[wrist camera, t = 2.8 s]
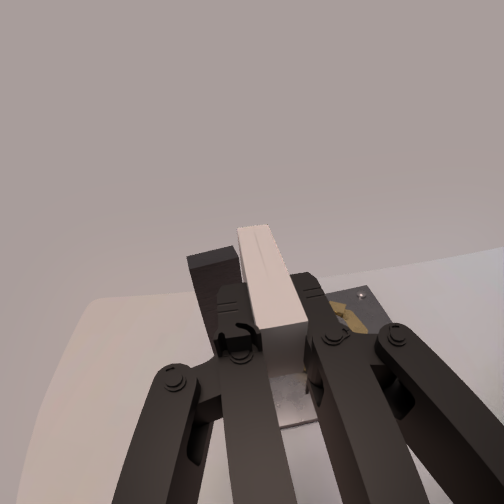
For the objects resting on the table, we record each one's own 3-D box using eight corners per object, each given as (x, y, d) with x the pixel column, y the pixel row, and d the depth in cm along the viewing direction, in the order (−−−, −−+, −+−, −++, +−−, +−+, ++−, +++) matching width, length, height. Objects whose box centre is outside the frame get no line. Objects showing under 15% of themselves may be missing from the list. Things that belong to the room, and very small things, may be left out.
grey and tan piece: (339, 308, 39) (350, 200, 30) (376, 355, 30) (411, 239, 21) (213, 348, 35) (182, 236, 26) (232, 411, 26) (196, 301, 17)
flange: (361, 283, 45) (365, 262, 42) (424, 382, 26) (437, 362, 24) (235, 306, 43) (232, 284, 41) (254, 433, 25) (250, 419, 22)
